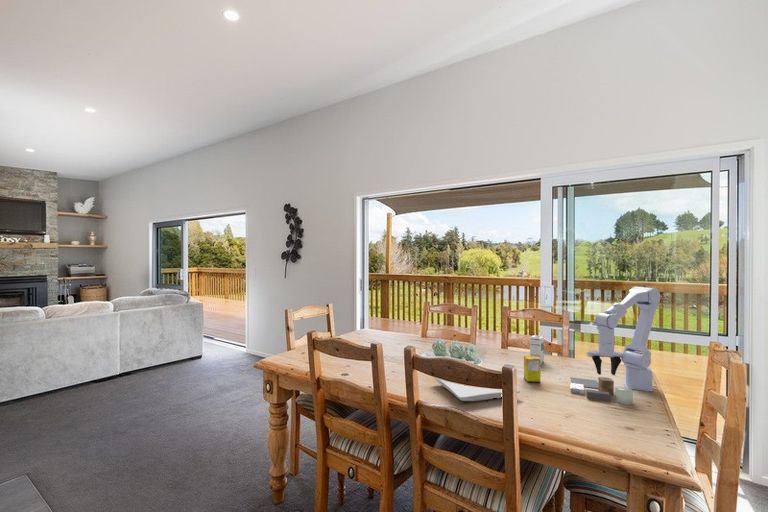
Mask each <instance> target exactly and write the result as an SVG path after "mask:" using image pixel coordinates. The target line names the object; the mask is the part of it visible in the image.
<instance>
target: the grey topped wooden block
mask: <svg viewBox="0 0 768 512" xmlns="http://www.w3.org/2000/svg"><path fill="white" fill-rule="evenodd" d="M569 389H570V390H569V391H570V393H571V394H577V395H585V387H584V385H583V384H576V383H571V382H570V387H569Z"/></svg>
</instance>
